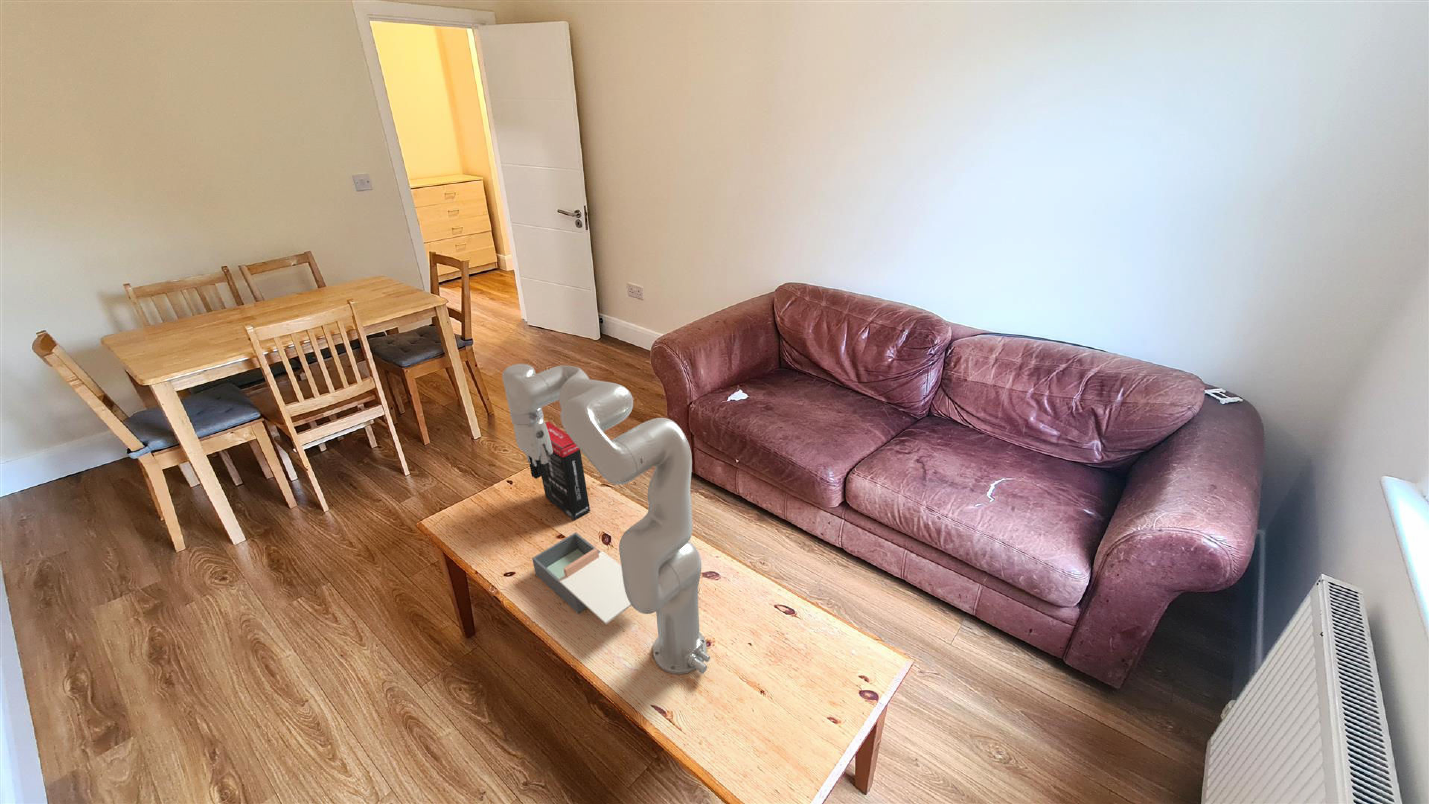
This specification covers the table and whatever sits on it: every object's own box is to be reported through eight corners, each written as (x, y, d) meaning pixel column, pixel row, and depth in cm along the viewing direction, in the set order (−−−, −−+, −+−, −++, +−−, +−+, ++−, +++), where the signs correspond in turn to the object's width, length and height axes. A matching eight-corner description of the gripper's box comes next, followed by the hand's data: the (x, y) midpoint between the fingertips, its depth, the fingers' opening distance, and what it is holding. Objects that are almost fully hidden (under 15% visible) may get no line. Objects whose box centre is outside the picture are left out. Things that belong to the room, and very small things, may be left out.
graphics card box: (592, 512, 181) (581, 438, 168) (573, 523, 176) (560, 448, 163) (561, 489, 191) (549, 419, 178) (543, 499, 187) (529, 427, 174)
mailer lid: (651, 590, 143) (650, 581, 142) (606, 624, 135) (604, 615, 133) (602, 552, 156) (601, 544, 154) (558, 581, 147) (556, 572, 145)
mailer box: (621, 583, 154) (619, 566, 151) (578, 613, 145) (574, 596, 143) (578, 548, 166) (575, 532, 164) (535, 574, 158) (532, 558, 155)
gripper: (557, 418, 138) (567, 480, 147) (524, 398, 147) (536, 458, 156) (529, 430, 133) (542, 494, 142) (497, 409, 142) (511, 470, 151)
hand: (539, 475), depth 149 cm, fingers closed
